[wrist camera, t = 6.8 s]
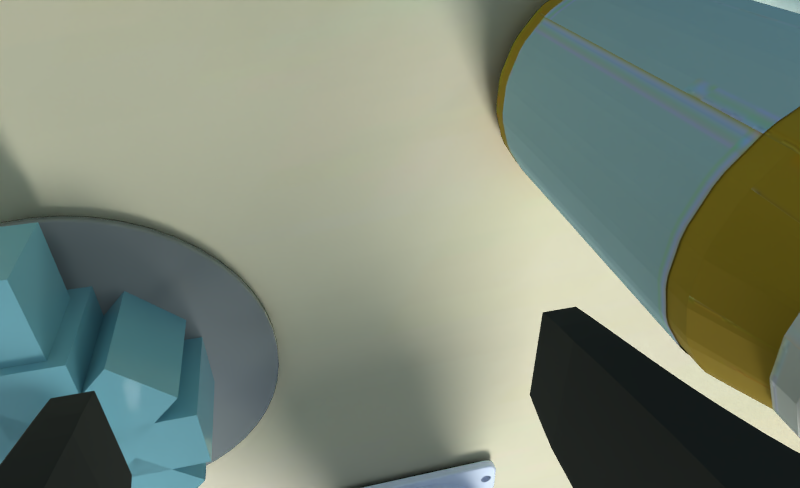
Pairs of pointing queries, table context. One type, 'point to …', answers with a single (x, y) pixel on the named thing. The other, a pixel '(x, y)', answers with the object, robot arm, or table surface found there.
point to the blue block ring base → (132, 341)
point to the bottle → (676, 167)
